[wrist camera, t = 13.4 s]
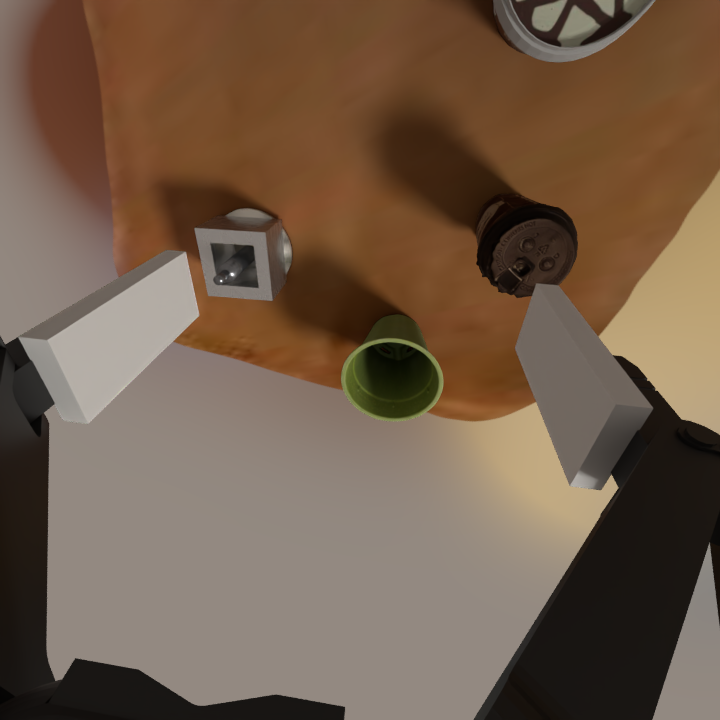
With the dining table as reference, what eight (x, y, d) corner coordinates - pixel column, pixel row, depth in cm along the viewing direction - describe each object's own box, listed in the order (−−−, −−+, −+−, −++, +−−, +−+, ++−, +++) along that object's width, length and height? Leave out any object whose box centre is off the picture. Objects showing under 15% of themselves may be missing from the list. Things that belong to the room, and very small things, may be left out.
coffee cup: (466, 264, 47) (481, 310, 36) (460, 192, 42) (475, 221, 32) (542, 251, 45) (582, 296, 34) (544, 175, 41) (591, 198, 30)
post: (209, 205, 47) (159, 228, 37) (289, 210, 46) (258, 235, 37) (223, 282, 52) (183, 319, 43) (295, 288, 51) (269, 326, 42)
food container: (458, 60, 36) (471, 45, 28) (478, -30, 33) (500, -77, 24) (588, 80, 36) (640, 71, 28) (621, -9, 32) (692, -49, 24)
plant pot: (447, 303, 50) (454, 348, 40) (428, 375, 56) (431, 428, 47) (358, 290, 50) (345, 331, 41) (350, 363, 57) (337, 413, 48)
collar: (217, 215, 47) (194, 227, 42) (281, 219, 46) (265, 232, 41) (228, 277, 51) (208, 295, 46) (286, 281, 50) (272, 300, 45)
